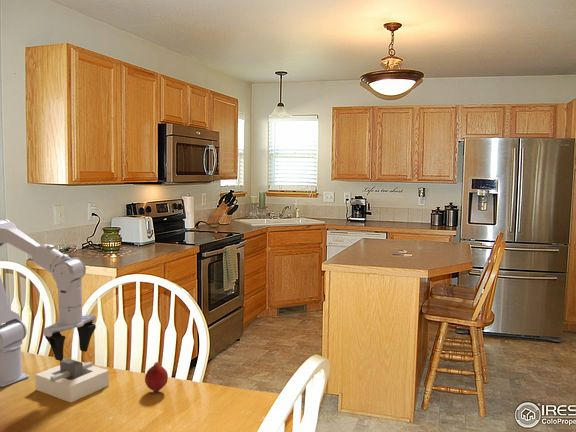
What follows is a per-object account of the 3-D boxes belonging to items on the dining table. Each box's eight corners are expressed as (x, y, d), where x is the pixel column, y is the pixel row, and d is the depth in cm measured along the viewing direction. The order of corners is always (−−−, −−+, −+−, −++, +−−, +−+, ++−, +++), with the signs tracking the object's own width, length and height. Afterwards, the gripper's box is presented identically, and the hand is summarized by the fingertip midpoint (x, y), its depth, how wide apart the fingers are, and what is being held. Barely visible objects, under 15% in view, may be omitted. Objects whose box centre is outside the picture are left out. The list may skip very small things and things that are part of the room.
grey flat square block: (60, 380, 141) (59, 361, 141) (68, 377, 144) (67, 358, 143) (75, 386, 138) (74, 365, 138) (83, 382, 140) (82, 362, 140)
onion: (162, 397, 136) (161, 367, 135) (141, 395, 137) (140, 365, 136) (171, 388, 142) (171, 359, 141) (151, 385, 143) (151, 357, 142)
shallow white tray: (35, 389, 139) (35, 371, 139) (74, 374, 150) (74, 357, 149) (70, 402, 132) (70, 383, 132) (109, 385, 143) (108, 367, 142)
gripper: (55, 314, 130) (57, 367, 132) (103, 301, 143) (104, 349, 144) (37, 309, 134) (39, 361, 135) (85, 297, 146) (86, 344, 148)
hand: (71, 355), depth 140 cm, fingers open, 7 cm apart
